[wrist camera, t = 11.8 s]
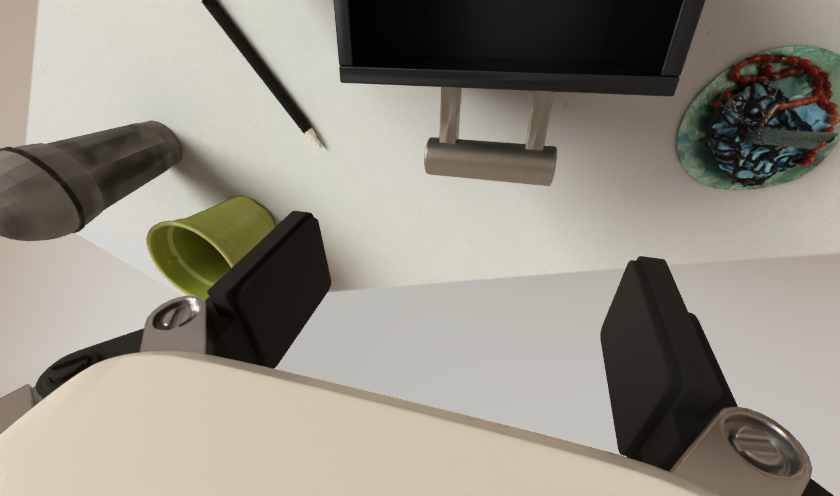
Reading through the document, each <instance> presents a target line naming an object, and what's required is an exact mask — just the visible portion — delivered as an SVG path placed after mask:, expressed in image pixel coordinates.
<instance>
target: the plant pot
mask: <svg viewBox="0 0 840 496" xmlns="http://www.w3.org/2000/svg"><path fill="white" fill-rule="evenodd" d="M274 228H275V223H274V221H273V219H272V217H271V215H270V214H269V212H268V211H267V210H266V209H265V208H263V207H261V206H259V205H258V204H256V203H255V202H254V201H253V200H252V199H250V198H247V197H242V196H238V197H234V198H231V199H229V200H227V201H224V202H222V203H220V204H218V205H216V206H213V207H211V208H209V209H207V210H204V211H202V212H200V213H197V214H195V215H193V216H190V217H188V218H184V219H178V220H175V221H164V222H160V223H158V224H156V225H154V226H153V227H152V228H151V229H150V230H149V232H148V235H147V247H148V251H149V254H150V256H151V258H152V260H153V262H154V264H155V265H156V267H157V268H158V269H159V271H160V272H161V273H162V274H163V275H164V276H165V277H166V278H167V279H168V280H169V281H170V282H171V283H172V284H173V285H174V286H175V287H177V288H178V289H180V290H181V291H182V292H184V293H185V294H187V295H189V296H197V297H201V298H202V299H203V300H204V301H205V300H206V299H207V298H208V297H209V295H208V293H207V290H208V289H209V288H210V287H211V286H213V285H214V284H215V283H216V282H217V281H218V280H219V279H220V278H221V277H222V276H223V275H224V274H225V273H227V272H228V271H229V270H230V269H231V268H232V267H233V266H234V265H235V264H236V263H237V262H238V261H239V260H240V259H242V258H243V257H244V256H245V255H246V254H247V253H248V252H249V251H250V250H251V249H252V248H253V247H254V246H256V245H257V244H258V243H259V242H260V241H261V240H262V239H263V238H264V237H265V236H266V235H267V234H268V233H270V232H271V231H272V230H273V229H274Z"/></svg>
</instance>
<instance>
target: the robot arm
mask: <svg viewBox="0 0 840 496" xmlns="http://www.w3.org/2000/svg"><path fill="white" fill-rule="evenodd" d="M330 286H331V277H330V273H329V268H328V264H327V259H326V254H325V250H324V245H323V241H322V236H321V231H320V227H319V222H318V220H317V219H316V218H314V216H313V215H312V214H311V213H308V212H301V211H293V212H291V213H290V214H289V215H288V216H287V217H286V218H285V219H283V220H282V221H281V222H280V223H279V224H278V225H277V226H276V227H275V228H274V229H273V230H272V231H271V232H270V233H268V234H267V235H266V236H265V237H264V238H263V239H262V240H261V241H260V242H259V243H258V244H257V245H256V246H254V247H253V248H252V249H251V250H250V251H249V252H248V253H247V254H246V255H245V256H244V257H243V258H242V259H240V260H239V261H238V262H237V263H236V264H235V265H234V266H233V267H232V268H231V269H230V270H229V271H228V272H227V273H225V274H224V275H223V276H222V277H221V278H220V279H219V280H218V281H217V282H216V283H215V284H214V285H213V286H211V287H210V288H209V289H208V290H207V293H208V295H209V297H208V298H207V299H206V300H205V301H204V300H203V299H202V298H201V297H197V296H183V297H178V298H175V299H172V300H170V301H168V302H166V303H164V304H162V305H160V306H159V307H158V308H157V309H155V310H154V311H153V312H152V313H151V314H150V315H149V317H148V318H147V320H146V323H145V328H144V329H141V330H138V331H135V332H132V333H129V334H126V335H123V336H120V337H117V338H114V339H111V340H108V341H105V342H103V343H100V344H96V345H93V346H91V347H88V348H85V349H82V350H79V351H76V352H74V353H71V354H69V355H67V356H65V357H63V358H61V359H59V360H58V361H56V362H55V363H54V364H53V365H51V366H50V367H49V368H48V369H47V370H46V371H45V372H44V373H43V374H42V375H41V376H40V378H39V379H38V381H37V383H36V386H35V387H33V388H32V387H31V386H30V385H29V384H27V385H25V386H23V387H21V388H19V389H17V390H15V391H13V392H12V393H9V394H7V395H6V396H4V397H2V398H0V496H833V495H832V494H831V493H829V492H828V491H827V490H825V489H824V488H823V487H821V486H820V485H819V484H818V483H816V482H815V481H814V480H812V479H811V473H812V466H811V462H810V459H809V456H808V455H807V453H806V451H805V450H804V448H803V447H802V445H801V444H800V443H799V441H798V440H796V438H795V437H794V436H793V435H792V434H791V433H790V432H789V431H788V430H786V429H785V428H783V427H782V426H781V425H779V424H778V423H777V422H776V421H774V420H772V419H770V418H769V417H767V416H765V415H763V414H761V413H759V412H755V411H753V410H750V409H747V408H741V407H738V406H737V404H736V402H735V399H734V397H733V395H732V393H731V391H730V388H729V386H728V384H727V382H726V380H725V378H724V375H723V373H722V371H721V369H720V366H719V364H718V362H717V360H716V358H715V356H714V353H713V351H712V349H711V347H710V345H709V342H708V340H707V338H706V336H705V334H704V331H703V329H702V327H701V325H700V323H699V321H698V319H697V317H696V316H695V315H694V314H692V313H689V312H688V311H687V309H686V306H685V304H684V302H683V299H682V297H681V295H680V292H679V290H678V288H677V286H676V283H675V281H674V279H673V276H672V274H671V272H670V270H669V267H668V265H667V263H666V261H665V260H664V259H658V258H651V257H643V256H640V257H638V258H637V260H636V261H632V260H631V261H629V263H628V264H627V267H626V269H625V272H624V274H623V277H622V279H621V282H620V284H619V286H618V289H617V292H616V294H615V296H614V299H613V301H612V304H611V306H610V308H609V311H608V314H607V316H606V318H605V321H604V323H603V326H602V329H601V344H602V351H603V358H604V363H605V370H606V376H607V382H608V388H609V395H610V401H611V407H612V414H613V419H614V426H615V432H616V438H617V445H618V450H619V452H620V454H621V455H625V456H627V457H623V456H620V455H617V454H614V453H611V452H607V451H603V450H599V449H595V448H592V447H588V446H584V445H580V444H576V443H573V442H569V441H565V440H561V439H558V438H554V437H550V436H546V435H543V434H539V433H535V432H531V431H527V430H523V429H518V428H514V427H510V426H507V425H503V424H499V423H495V422H490V421H486V420H482V419H478V418H474V417H470V416H466V415H462V414H458V413H454V412H450V411H446V410H442V409H438V408H434V407H430V406H426V405H422V404H418V403H413V402H409V401H405V400H401V399H397V398H393V397H389V396H385V395H380V394H376V393H372V392H368V391H364V390H360V389H356V388H352V387H348V386H344V385H340V384H335V383H331V382H327V381H322V380H318V379H314V378H310V377H306V376H301V375H297V374H293V373H289V372H285V371H280V370H276V369H274V368H275V367H276V366H277V365H278V364H279V362H280V360H281V359H282V357H283V356H284V355H285V353H286V352H287V351H288V349H289V348H290V346H291V345H292V343H293V342H294V340H295V339H296V337H297V336H298V334H299V333H300V332H301V330H302V329H303V327H304V325H305V324H306V323H307V321H308V320H309V318H310V317H311V315H312V314H313V313H314V311H315V310H316V308H317V307H318V305H319V304H320V302H321V301H322V299H323V298H324V297H325V295H326V294H327V292H328V291H329V289H330Z"/></svg>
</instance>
